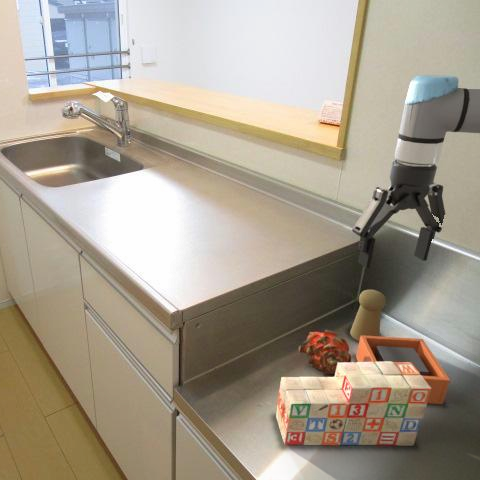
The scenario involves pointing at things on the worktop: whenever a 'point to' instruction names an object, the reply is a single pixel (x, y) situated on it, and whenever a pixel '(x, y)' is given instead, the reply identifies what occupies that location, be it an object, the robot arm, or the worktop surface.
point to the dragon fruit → (326, 351)
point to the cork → (368, 314)
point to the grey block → (401, 357)
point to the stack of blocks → (354, 405)
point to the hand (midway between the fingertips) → (392, 261)
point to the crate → (436, 373)
